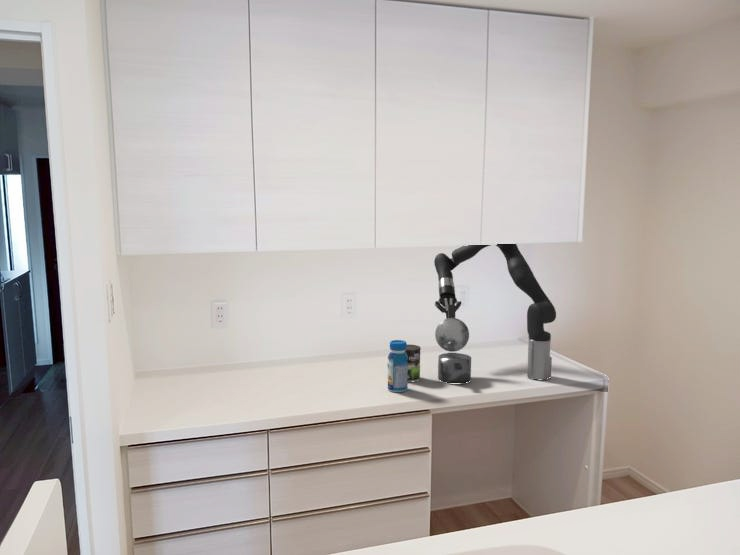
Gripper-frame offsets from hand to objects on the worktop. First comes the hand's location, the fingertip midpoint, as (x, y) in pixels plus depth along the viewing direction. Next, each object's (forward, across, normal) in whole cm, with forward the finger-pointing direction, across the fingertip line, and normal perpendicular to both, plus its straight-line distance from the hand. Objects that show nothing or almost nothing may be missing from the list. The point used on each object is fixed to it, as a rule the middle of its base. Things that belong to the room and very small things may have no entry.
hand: (449, 319), depth 261 cm
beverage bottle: (+39, +25, +7) cm, 47 cm away
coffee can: (+29, +20, -4) cm, 35 cm away
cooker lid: (+8, 0, +5) cm, 9 cm away
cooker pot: (+31, 0, -2) cm, 31 cm away
